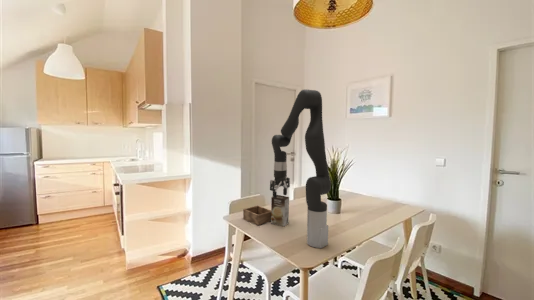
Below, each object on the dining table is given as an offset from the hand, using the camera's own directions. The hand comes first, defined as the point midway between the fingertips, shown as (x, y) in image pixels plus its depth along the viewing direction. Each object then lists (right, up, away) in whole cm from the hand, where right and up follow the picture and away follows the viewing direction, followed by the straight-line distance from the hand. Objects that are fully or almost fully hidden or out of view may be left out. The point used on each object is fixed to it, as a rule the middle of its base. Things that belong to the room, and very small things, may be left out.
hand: (279, 196), depth 143 cm
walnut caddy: (-13, -16, +7) cm, 22 cm away
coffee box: (0, -17, +1) cm, 17 cm away
